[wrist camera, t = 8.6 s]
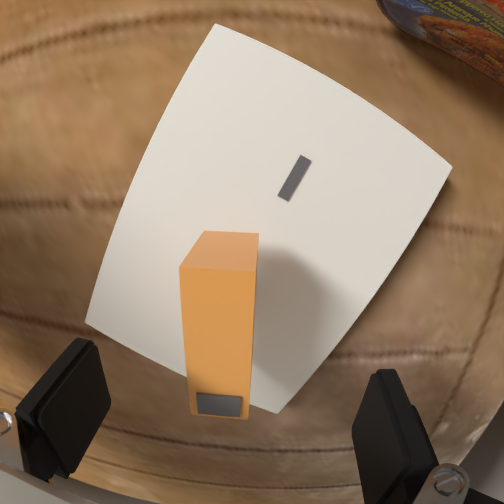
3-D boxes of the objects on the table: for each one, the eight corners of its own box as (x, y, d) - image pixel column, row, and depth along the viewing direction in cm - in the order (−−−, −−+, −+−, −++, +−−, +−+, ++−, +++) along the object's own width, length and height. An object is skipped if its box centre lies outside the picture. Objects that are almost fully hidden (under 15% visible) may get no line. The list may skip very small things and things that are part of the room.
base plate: (96, 309, 21) (71, 337, 18) (220, 34, 15) (209, 9, 11) (276, 395, 23) (277, 434, 19) (436, 163, 17) (471, 170, 13)
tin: (357, 14, 14) (409, -52, 6) (363, -22, 13) (410, -92, 5) (531, 108, 15) (611, 112, 7) (534, 74, 14) (609, 68, 6)
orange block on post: (203, 230, 15) (177, 268, 10) (259, 233, 15) (255, 273, 10) (206, 355, 17) (190, 416, 13) (252, 358, 17) (248, 422, 12)
